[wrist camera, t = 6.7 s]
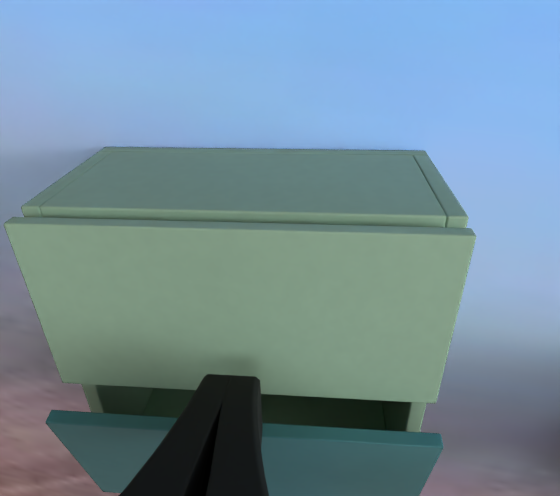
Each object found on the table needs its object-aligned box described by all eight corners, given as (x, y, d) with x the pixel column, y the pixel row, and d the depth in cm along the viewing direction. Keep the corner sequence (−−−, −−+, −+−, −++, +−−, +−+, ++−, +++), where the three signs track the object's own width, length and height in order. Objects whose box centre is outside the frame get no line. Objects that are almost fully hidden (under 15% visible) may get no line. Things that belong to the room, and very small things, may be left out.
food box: (388, 384, 20) (410, 515, 15) (154, 372, 21) (101, 492, 16) (425, 150, 14) (480, 232, 9) (104, 146, 15) (-1, 220, 10)
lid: (407, 502, 15) (409, 515, 15) (106, 480, 16) (102, 492, 16) (441, 432, 12) (444, 448, 11) (50, 409, 12) (44, 422, 12)
